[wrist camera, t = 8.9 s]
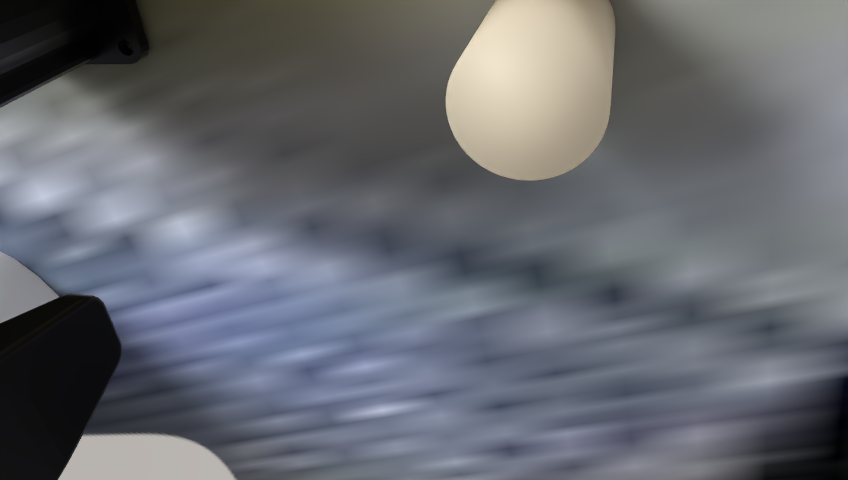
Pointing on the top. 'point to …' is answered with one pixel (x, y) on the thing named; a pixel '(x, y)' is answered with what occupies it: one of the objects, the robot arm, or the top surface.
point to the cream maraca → (534, 86)
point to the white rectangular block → (20, 289)
